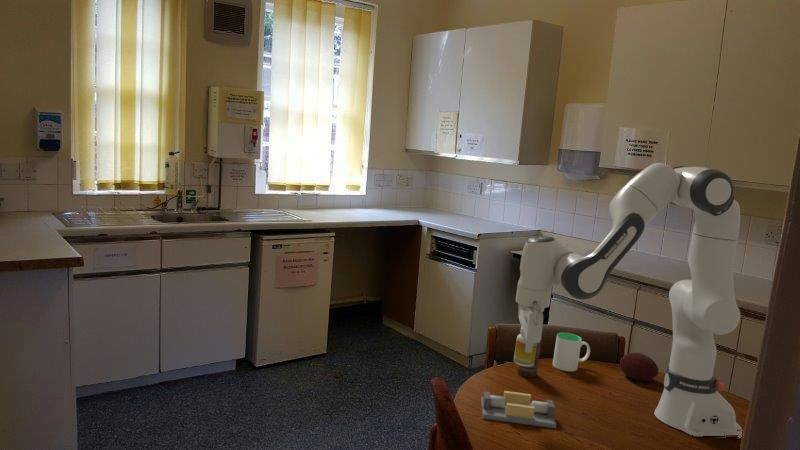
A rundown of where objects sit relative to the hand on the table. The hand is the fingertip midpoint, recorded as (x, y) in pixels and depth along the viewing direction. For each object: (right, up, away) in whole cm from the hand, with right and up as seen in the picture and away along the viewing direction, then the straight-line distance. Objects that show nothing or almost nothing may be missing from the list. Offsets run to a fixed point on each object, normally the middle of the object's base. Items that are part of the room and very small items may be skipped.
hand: (526, 347), depth 162 cm
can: (+7, -15, +32) cm, 36 cm away
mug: (+24, -15, +43) cm, 51 cm away
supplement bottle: (-1, -5, +1) cm, 5 cm away
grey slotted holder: (-2, -19, +3) cm, 19 cm away
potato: (+44, -18, +38) cm, 61 cm away
